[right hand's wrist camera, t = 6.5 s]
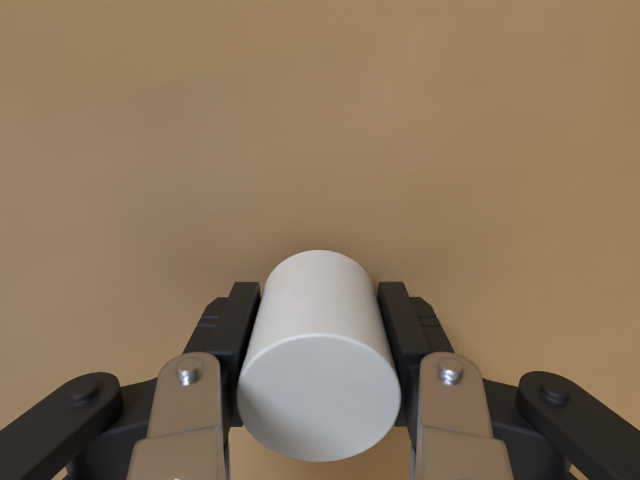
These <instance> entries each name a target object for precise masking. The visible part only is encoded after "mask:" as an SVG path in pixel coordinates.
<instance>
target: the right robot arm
mask: <svg viewBox="0 0 640 480" xmlns="http://www.w3.org/2000/svg"><path fill="white" fill-rule="evenodd" d="M260 300H261V295H260V285H259V282H235V283H234V285H233V288H232V290H231V292H230V295H229V297H218V298H216V299H215V300H214V301H213V302H211V303H210V304H209V305H208V306H207V307H206V309H205V310H204V312H203V314H202V316H201V318H200V320H199V322H198V324H197V327H196V328H195V330H194V332H193V334H192V336H191V338H190V340H189V342H188V344H187V346H186V347H185V349H184V351H183V353H182V355H180V356H177V357H175V358H173V359H171V360H170V361H169V362H167V363H166V364H165V365H164V366H163V367H162V368H161V370H160V372H159V375H158V377H157V378H154V379H152V380H149V381H145V382H141V383H136V384H132V385H128V386H123V387H120V384H119V381H118V379H117V377H116V376H114V375H112V374H110V373H105V372H96V373H89V374H86V375H82V376H79V377H77V378H74V379H72V380H70V381H68V382H67V383H65V384H64V385H62V386H61V387H59V388H58V389H56V390H55V391H54V392H52V393H51V394H50V395H48V396H47V397H46V398H44V399H43V400H42V401H40V402H39V403H37V404H36V405H35V406H33V407H32V408H31V409H29V410H28V411H27V412H25V413H24V414H23V415H21V416H20V417H19V418H17V419H16V420H14V421H13V422H12V423H10V424H9V425H8V426H6V427H5V428H4V429H2V430H1V431H0V480H51V479H52V478H53V477H54V476H55V475H56V474H57V473H58V472H59V471H61V470H62V469H63V468H64V467H66V470H67V473H68V474H67V475H66V476H65V477H64V478H63V479H62V480H231V469H230V448H229V440H228V434H229V430H230V427H243V422H242V420H241V418H240V415H239V412H238V408H237V403H236V389H237V384H238V380H239V376H240V373H241V369H242V366H243V362H244V358H245V355H246V351H247V347H248V344H249V340H250V337H251V333H252V329H253V326H254V322H255V319H256V315H257V311H258V308H259V304H260ZM377 301H378V304H379V308H380V312H381V316H382V319H383V323H384V327H385V331H386V334H387V338H388V342H389V346H390V349H391V353H392V357H393V361H394V364H395V368H396V372H397V376H398V379H399V383H400V387H401V406H400V410H399V414H398V416H397V419H396V421H395V423H394V424H395V426H407V428H408V432H409V436H410V440H411V448H410V469H409V480H578V479H577V478H576V477H575V476H574V475H573V474H572V473H571V472H570V468H571V465H572V464H573V465H574V466H575V467H576V468H577V469H578V470H579V471H580V472H582V473H583V474H584V475H585V476H586V477H587V478H588V479H589V480H640V431H639V430H638V429H636V428H635V427H634V426H632V425H631V424H630V423H628V422H627V421H626V420H624V419H623V418H621V417H620V416H619V415H617V414H616V413H615V412H613V411H612V410H611V409H609V408H608V407H607V406H605V405H604V404H603V403H601V402H600V401H598V400H597V399H596V398H594V397H593V396H592V395H590V394H589V393H588V392H586V391H585V390H584V389H582V388H581V387H579V386H578V385H577V384H575V383H574V382H572V381H570V380H568V379H567V378H564V377H562V376H559V375H557V374H553V373H549V372H543V371H533V372H529V373H526V374H524V375H523V376H522V377H521V378H520V382H519V386H518V387H516V386H512V385H507V384H503V383H498V382H494V381H490V380H487V379H484V378H482V375H481V372H480V370H479V368H478V367H477V366H476V365H475V364H474V363H473V362H471V361H470V360H469V359H467V358H465V357H463V356H460V355H458V354H455V352H454V350H453V348H452V346H451V344H450V342H449V340H448V338H447V336H446V334H445V332H444V330H443V328H442V327H441V324H440V322H439V321H438V319H437V318H436V315H435V313H434V311H433V309H432V307H431V305H429V304H428V303H427V302H426V301H424V300H423V299H422V298H421V297H409V295H408V292H407V290H406V288H405V285H404V283H403V282H379V285H378V297H377Z"/></svg>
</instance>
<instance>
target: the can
mask: <svg viewBox="0 0 640 480" xmlns="http://www.w3.org/2000/svg"><path fill="white" fill-rule="evenodd" d="M236 403H237V408H238V412H239V415H240V418H241V420H242V422H243V424H244V426H245V427H246V429H247V430H248V432H249V433H250V434H251V435H252V436H253V437H254V438H255V439H256V440H257V441H258V442H260V443H261V444H262V445H264V446H265V447H267V448H268V449H270V450H272V451H274V452H276V453H278V454H280V455H283V456H285V457H288V458H292V459H296V460H301V461H309V462H329V461H337V460H342V459H346V458H349V457H352V456H355V455H357V454H360V453H362V452H364V451H366V450H368V449H369V448H371V447H372V446H374V445H375V444H377V443H378V442H379V441H380V440H381V439H382V438H384V437H385V435H386V434H387V433H388V432H389V431H390V429H391V428H392V426H393V425H394V423H395V421H396V419H397V416H398V414H399V410H400V406H401V387H400V383H399V379H398V376H397V372H396V368H395V364H394V361H393V357H392V353H391V349H390V346H389V342H388V338H387V334H386V331H385V327H384V323H383V319H382V316H381V312H380V308H379V304H378V301H377V297H376V293H375V289H374V286H373V283H372V281H371V279H370V277H369V275H368V274H367V272H366V271H365V270H364V269H363V268H362V267H361V266H360V265H359V264H358V263H357V262H355V261H354V260H352V259H351V258H349V257H347V256H345V255H342V254H340V253H337V252H332V251H326V250H312V251H306V252H302V253H298V254H296V255H293V256H291V257H289V258H288V259H286V260H284V261H283V262H282V263H280V264H279V265H278V266H277V267H276V268H275V269H274V270H273V271H272V273H271V274H270V276H269V277H268V279H267V281H266V284H265V286H264V290H263V293H262V297H261V300H260V304H259V308H258V311H257V315H256V319H255V322H254V326H253V329H252V333H251V337H250V340H249V344H248V347H247V351H246V355H245V358H244V362H243V366H242V369H241V373H240V376H239V380H238V384H237V389H236Z"/></svg>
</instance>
